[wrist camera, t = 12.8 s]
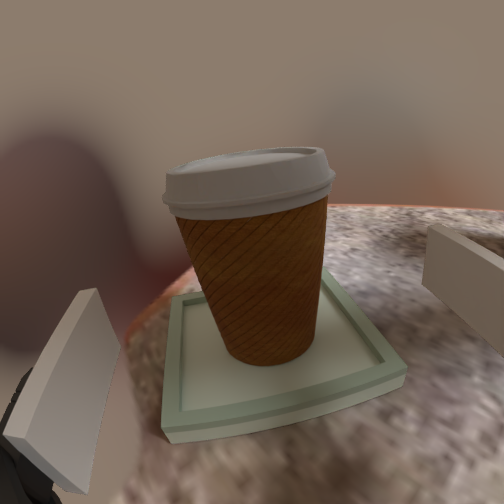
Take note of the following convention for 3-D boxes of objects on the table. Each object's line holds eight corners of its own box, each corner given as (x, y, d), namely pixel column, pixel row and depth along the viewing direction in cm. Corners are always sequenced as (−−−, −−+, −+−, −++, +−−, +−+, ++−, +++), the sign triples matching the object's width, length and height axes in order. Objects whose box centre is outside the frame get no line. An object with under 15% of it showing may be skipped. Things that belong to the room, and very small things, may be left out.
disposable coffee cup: (182, 331, 22) (140, 173, 18) (282, 286, 27) (265, 146, 22) (248, 412, 15) (197, 182, 10) (366, 334, 19) (370, 148, 14)
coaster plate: (324, 283, 28) (324, 266, 28) (402, 386, 16) (407, 366, 15) (177, 313, 27) (172, 296, 26) (171, 444, 14) (160, 427, 13)
